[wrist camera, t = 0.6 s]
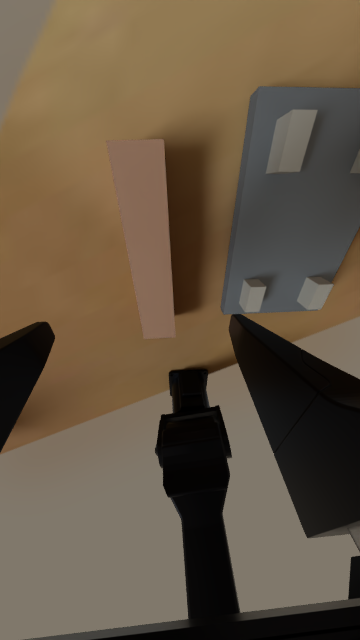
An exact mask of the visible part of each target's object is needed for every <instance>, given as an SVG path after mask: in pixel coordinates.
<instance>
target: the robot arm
mask: <svg viewBox="0 0 360 640" xmlns="http://www.w3.org/2000/svg"><path fill="white" fill-rule="evenodd" d="M229 333H230V337H231V341H232V345H233V348H234V352H235V356H236V359H237V362H238V364H239V367H240V369H241V372H242V374H243V377H244V379H245V382H246V384H247V387H248V390H249V392H250V395H251V397H252V400H253V402H254V405H255V407H256V410H257V412H258V415H259V417H260V420H261V422H262V425H263V428H264V430H265V433H266V435H267V438H268V440H269V443H270V445H271V448H272V450H273V453H274V456H275V458H276V461H277V463H278V466H279V468H280V471H281V474H282V476H283V479H284V481H285V484H286V486H287V489H288V492H289V494H290V496H291V499H292V502H293V504H294V507H295V509H296V512H297V514H298V517H299V520H300V522H301V525H302V527H303V530H304V532H305V534H306V536H307V538H316V537H325V536H335V535H344V534H350V535H351V536H352V538H353V540H354V542H355V544H356V546H357V548H358V549H359V551H360V379H358V378H356V377H354V376H352V375H350V374H348V373H346V372H344V371H342V370H340V369H338V368H336V367H334V366H332V365H330V364H328V363H326V362H324V361H322V360H321V359H319V358H317V357H315V356H313V355H311V354H310V353H308V352H306V351H305V350H301V348H299V347H297V346H296V345H294V344H292V343H290V342H289V341H287V340H285V339H283V338H282V337H280V336H278V335H276V334H275V333H273V332H271V331H269V330H268V329H266V328H264V327H262V326H261V325H259V324H257V323H255V322H254V321H252V320H250V319H248V318H247V317H245V316H243V315H241V314H232V316H231V320H230V325H229ZM54 340H55V335H54V333H53V331H52V329H51V327H50V325H49V323H47V322H36V323H34V324H31V325H29V326H27V327H25V328H23V329H20V330H18V331H16V332H14V333H12V334H9V335H7V336H5V337H3V338H1V339H0V452H1V450H2V448H3V446H4V445H5V443H6V441H7V439H8V437H9V435H10V433H11V431H12V429H13V427H14V425H15V423H16V421H17V419H18V417H19V415H20V413H21V411H22V409H23V408H24V406H25V404H26V402H27V400H28V398H29V396H30V394H31V392H32V390H33V388H34V386H35V384H36V382H37V380H38V378H39V376H40V374H41V372H42V370H43V368H44V366H45V364H46V361H47V359H48V356H49V353H50V351H51V348H52V346H53V343H54ZM207 378H208V371H207V370H206V369H204V370H187V371H171V372H169V385H170V395H171V396H172V403H173V404H172V405H173V413H172V414H166V415H165V414H162V415H161V420H160V424H159V430H158V438H157V444H156V448H155V453H156V455H157V456H158V458H159V464H160V466H161V468H163V486H164V489H165V491H166V494H167V496H168V497H170V498H171V500H172V502H173V504H174V506H175V508H176V510H177V512H178V514H179V516H180V518H181V521H182V532H183V548H184V561H185V576H186V591H187V605H188V618H189V619H187V620H179V621H171V622H162V623H155V624H146V625H138V626H131V627H123V628H114V629H106V630H98V631H90V632H82V633H74V634H66V635H57V636H49V637H42V638H33V639H25V640H360V556H355V557H351V567H350V582H349V597H348V600H341V601H333V602H325V603H316V604H308V605H301V606H292V607H284V608H276V609H268V610H260V611H252V612H243V613H240V608H239V603H238V597H237V592H236V586H235V581H234V575H233V570H232V564H231V558H230V553H229V547H228V542H227V536H226V530H225V525H224V519H223V513H222V512H223V507H224V502H225V498H226V492H227V488H228V483H229V478H230V472H229V467H228V463H227V458H232V455H231V449H230V444H229V440H228V435H227V432H226V428H225V425H224V421H223V417H222V414H221V411H220V407H219V405H218V406H215V407H210V406H209V402H208V397H207V392H206V386H207Z"/></svg>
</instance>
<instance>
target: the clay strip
mask: <svg viewBox="0 0 360 640" xmlns="http://www.w3.org/2000/svg"><path fill="white" fill-rule="evenodd" d="M106 142H107V148H108V153H109V158H110V163H111V168H112V174H113V179H114V184H115V189H116V195H117V200H118V205H119V210H120V215H121V221H122V226H123V231H124V236H125V242H126V247H127V252H128V257H129V262H130V268H131V273H132V278H133V283H134V288H135V294H136V299H137V304H138V309H139V315H140V320H141V325H142V330H143V335H144V339H155V338H170V337H175V320H174V303H173V286H172V269H171V252H170V235H169V218H168V201H167V184H166V167H165V150H164V139H149V140H112V141H106Z"/></svg>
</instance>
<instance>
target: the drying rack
mask: <svg viewBox="0 0 360 640" xmlns="http://www.w3.org/2000/svg"><path fill="white" fill-rule="evenodd" d="M359 227H360V88H312V87H258V89H257V90H256V91H255V92H254V93H253V94H252V95H251V97H250V104H249V111H248V118H247V125H246V132H245V139H244V146H243V153H242V160H241V167H240V175H239V182H238V189H237V196H236V203H235V210H234V217H233V224H232V231H231V238H230V245H229V252H228V259H227V266H226V273H225V280H224V287H223V294H222V302H221V310H222V312H223V314H245V313H268V312H290V311H313V310H318V309H321V308H322V306H323V304H324V302H325V300H326V299H327V297H328V295H329V293H330V291H331V289H332V287H333V285H334V284H332V283H331V282H332V280H333V278H334V276H335V274H336V272H337V270H338V268H339V266H340V264H341V263H342V261H343V259H344V257H345V255H346V253H347V251H348V249H349V247H350V245H351V243H352V241H353V239H354V237H355V235H356V233H357V231H358V229H359Z"/></svg>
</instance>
